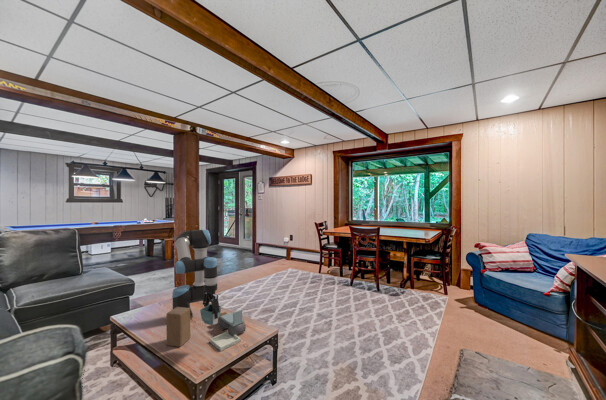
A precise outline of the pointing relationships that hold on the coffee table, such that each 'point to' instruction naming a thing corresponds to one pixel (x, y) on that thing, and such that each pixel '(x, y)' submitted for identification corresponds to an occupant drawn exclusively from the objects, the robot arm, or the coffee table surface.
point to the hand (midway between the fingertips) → (211, 320)
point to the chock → (220, 316)
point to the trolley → (233, 323)
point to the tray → (224, 341)
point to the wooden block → (178, 326)
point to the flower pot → (208, 314)
